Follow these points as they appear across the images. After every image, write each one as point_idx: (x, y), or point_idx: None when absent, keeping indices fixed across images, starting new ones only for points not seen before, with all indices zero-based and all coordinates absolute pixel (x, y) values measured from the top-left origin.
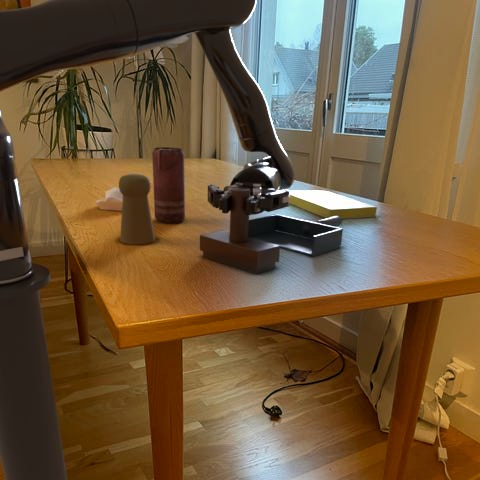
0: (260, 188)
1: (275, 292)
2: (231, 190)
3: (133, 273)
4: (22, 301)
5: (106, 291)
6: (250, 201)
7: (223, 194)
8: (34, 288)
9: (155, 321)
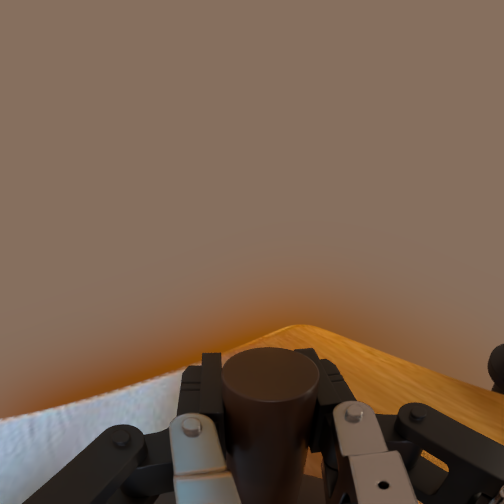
0: (177, 481)
1: (147, 407)
2: (304, 357)
3: (411, 399)
4: (498, 388)
5: (380, 354)
6: (204, 353)
7: (386, 436)
8: (494, 377)
9: (277, 330)
